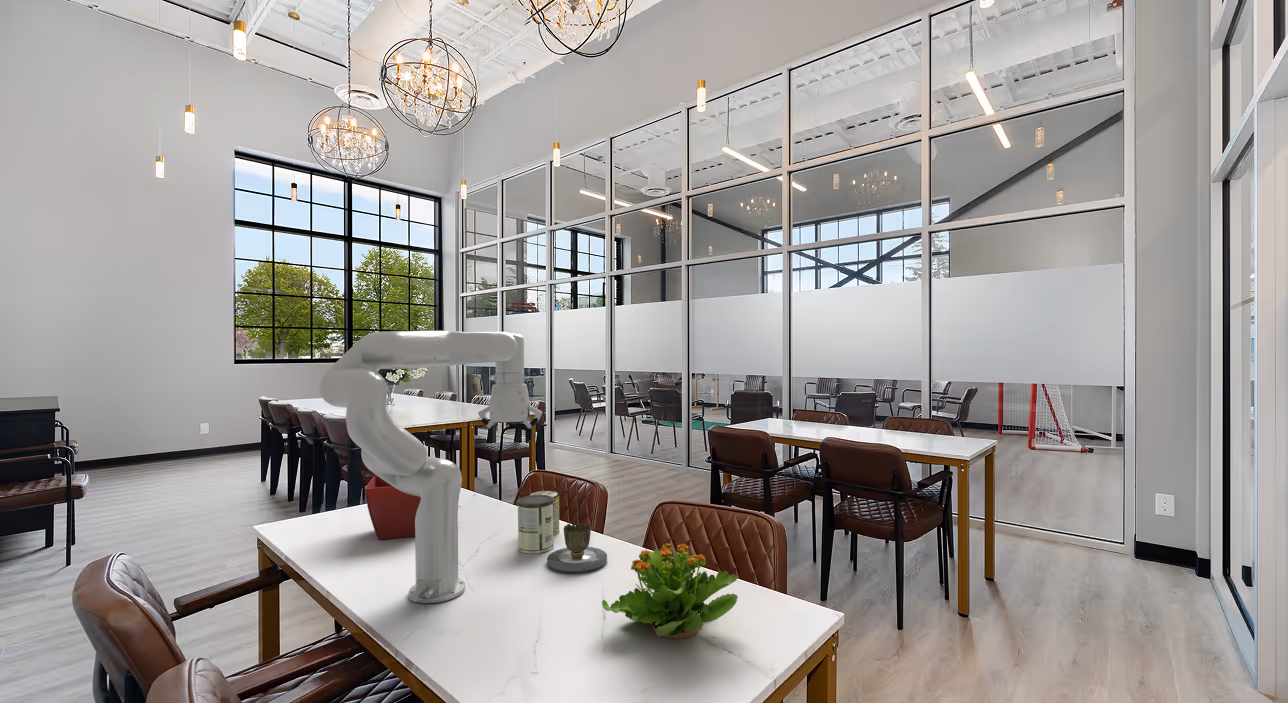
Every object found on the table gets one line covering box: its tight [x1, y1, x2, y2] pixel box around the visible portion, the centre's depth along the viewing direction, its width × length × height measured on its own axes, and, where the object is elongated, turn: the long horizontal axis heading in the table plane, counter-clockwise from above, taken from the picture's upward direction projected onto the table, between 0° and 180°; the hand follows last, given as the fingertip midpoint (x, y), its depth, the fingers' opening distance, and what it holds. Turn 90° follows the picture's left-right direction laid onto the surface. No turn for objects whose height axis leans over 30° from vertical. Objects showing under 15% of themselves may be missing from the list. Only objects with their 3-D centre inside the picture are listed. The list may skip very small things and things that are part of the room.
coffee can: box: [517, 495, 555, 555], centre depth 163 cm, size 10×10×14 cm
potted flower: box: [601, 543, 739, 640], centre depth 115 cm, size 25×24×18 cm
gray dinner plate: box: [546, 546, 608, 575], centre depth 152 cm, size 16×16×2 cm
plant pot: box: [364, 475, 421, 540], centre depth 179 cm, size 19×19×17 cm
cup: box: [562, 522, 592, 558], centre depth 152 cm, size 8×7×8 cm
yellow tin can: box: [529, 490, 560, 537], centre depth 177 cm, size 9×9×12 cm
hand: (510, 442), depth 153 cm, fingers open, 9 cm apart
